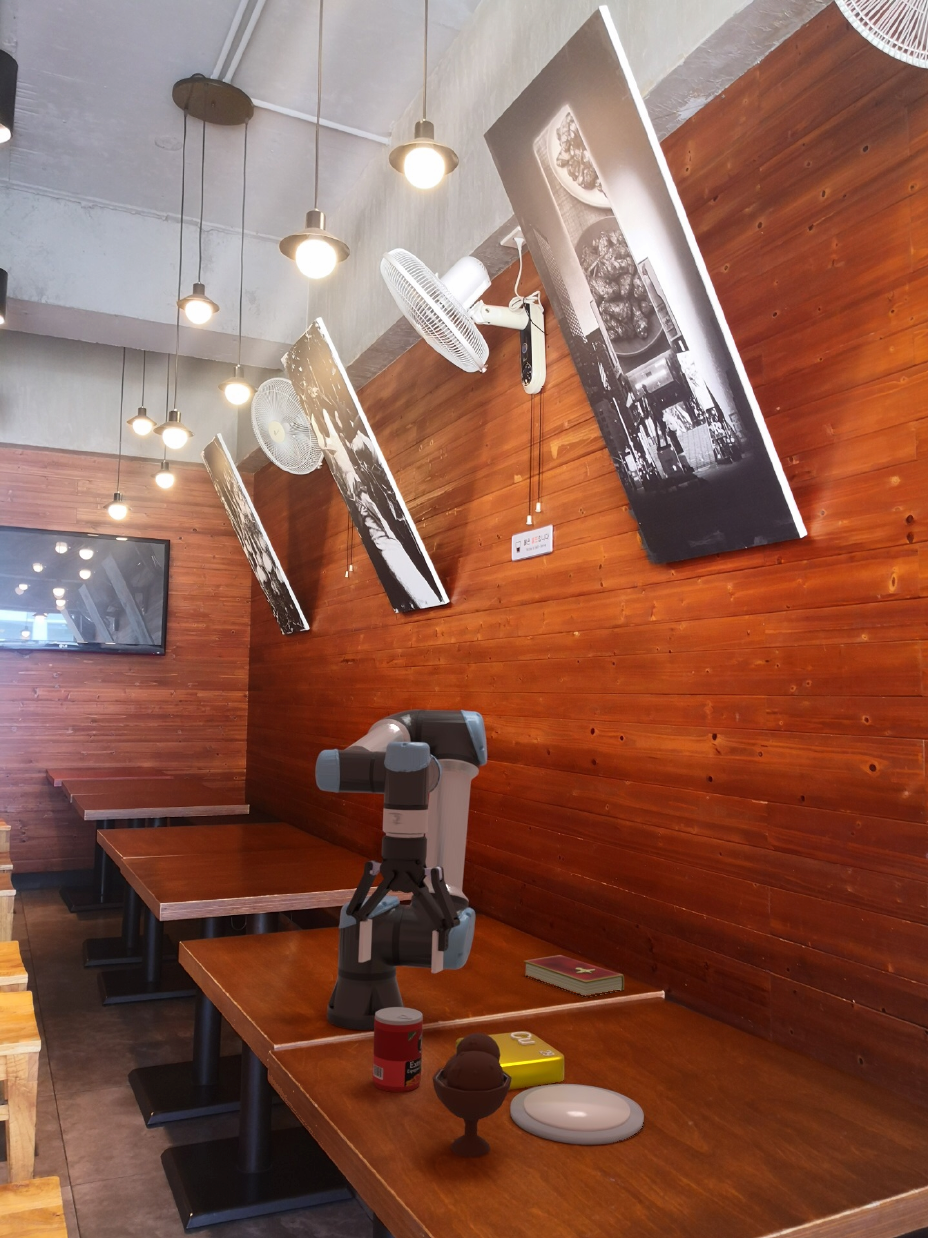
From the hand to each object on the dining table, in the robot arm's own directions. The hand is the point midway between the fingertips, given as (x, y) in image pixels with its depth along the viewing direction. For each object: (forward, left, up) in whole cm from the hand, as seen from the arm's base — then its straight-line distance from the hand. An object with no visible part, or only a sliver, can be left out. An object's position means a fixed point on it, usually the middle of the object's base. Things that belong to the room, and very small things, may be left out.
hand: (400, 966), depth 158 cm
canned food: (0, 0, -19) cm, 19 cm away
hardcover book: (+5, +74, -19) cm, 77 cm away
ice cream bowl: (+20, -16, -19) cm, 32 cm away
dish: (+30, +2, -19) cm, 35 cm away
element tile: (+14, +15, -19) cm, 28 cm away
